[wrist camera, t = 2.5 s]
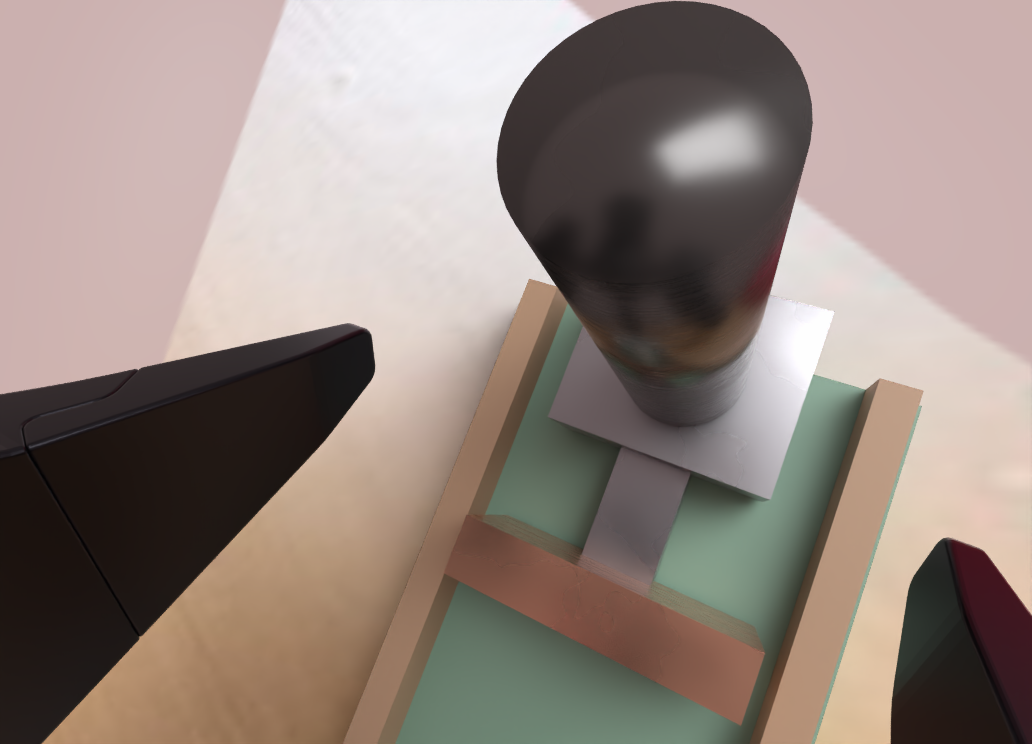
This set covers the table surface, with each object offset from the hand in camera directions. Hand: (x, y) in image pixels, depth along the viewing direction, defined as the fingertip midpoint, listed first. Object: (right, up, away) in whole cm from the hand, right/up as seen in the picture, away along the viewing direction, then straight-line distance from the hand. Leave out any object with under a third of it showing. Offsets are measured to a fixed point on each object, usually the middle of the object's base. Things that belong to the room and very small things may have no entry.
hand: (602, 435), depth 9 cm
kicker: (+3, -2, +9) cm, 9 cm away
